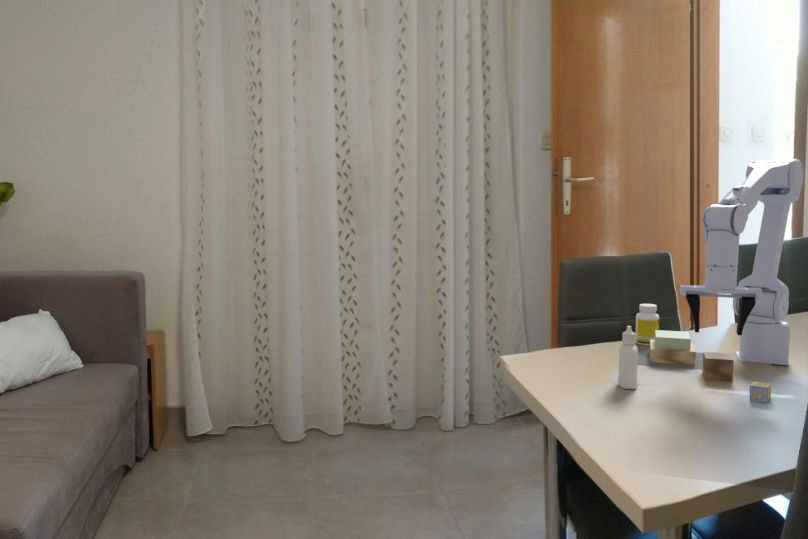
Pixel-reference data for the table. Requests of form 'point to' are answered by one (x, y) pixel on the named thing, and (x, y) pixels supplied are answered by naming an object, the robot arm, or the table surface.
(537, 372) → the table surface
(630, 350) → the eye dropper bottle
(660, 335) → the tower top
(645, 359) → the mat
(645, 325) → the supplement bottle
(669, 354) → the tower base
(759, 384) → the alphabet block
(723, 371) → the walnut cube
